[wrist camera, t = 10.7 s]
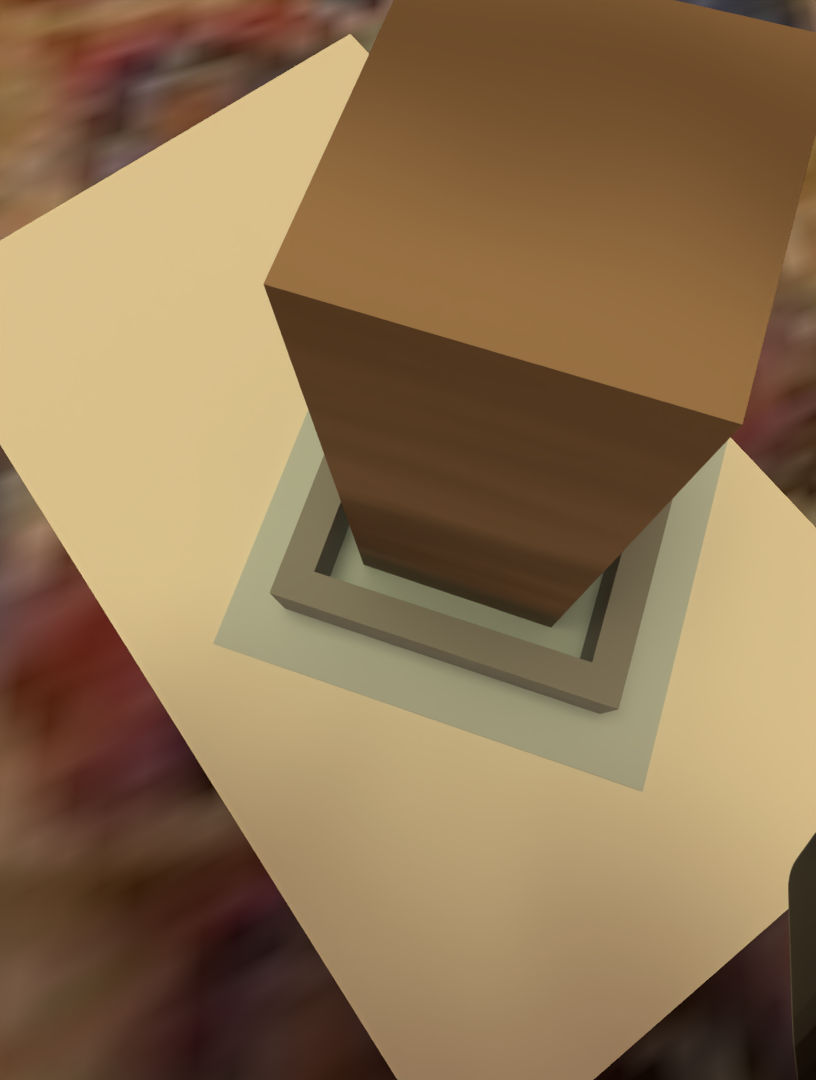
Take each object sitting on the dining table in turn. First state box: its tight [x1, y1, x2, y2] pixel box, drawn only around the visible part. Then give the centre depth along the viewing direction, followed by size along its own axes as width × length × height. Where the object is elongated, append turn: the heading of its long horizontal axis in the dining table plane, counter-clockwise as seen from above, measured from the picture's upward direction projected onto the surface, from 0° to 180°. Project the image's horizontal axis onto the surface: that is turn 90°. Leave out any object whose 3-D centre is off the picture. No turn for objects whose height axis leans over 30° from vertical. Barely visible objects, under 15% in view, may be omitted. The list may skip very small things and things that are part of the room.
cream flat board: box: [0, 34, 816, 1080], centre depth 19 cm, size 17×27×2 cm, turn 36°
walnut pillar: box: [264, 0, 816, 628], centre depth 14 cm, size 5×5×12 cm
